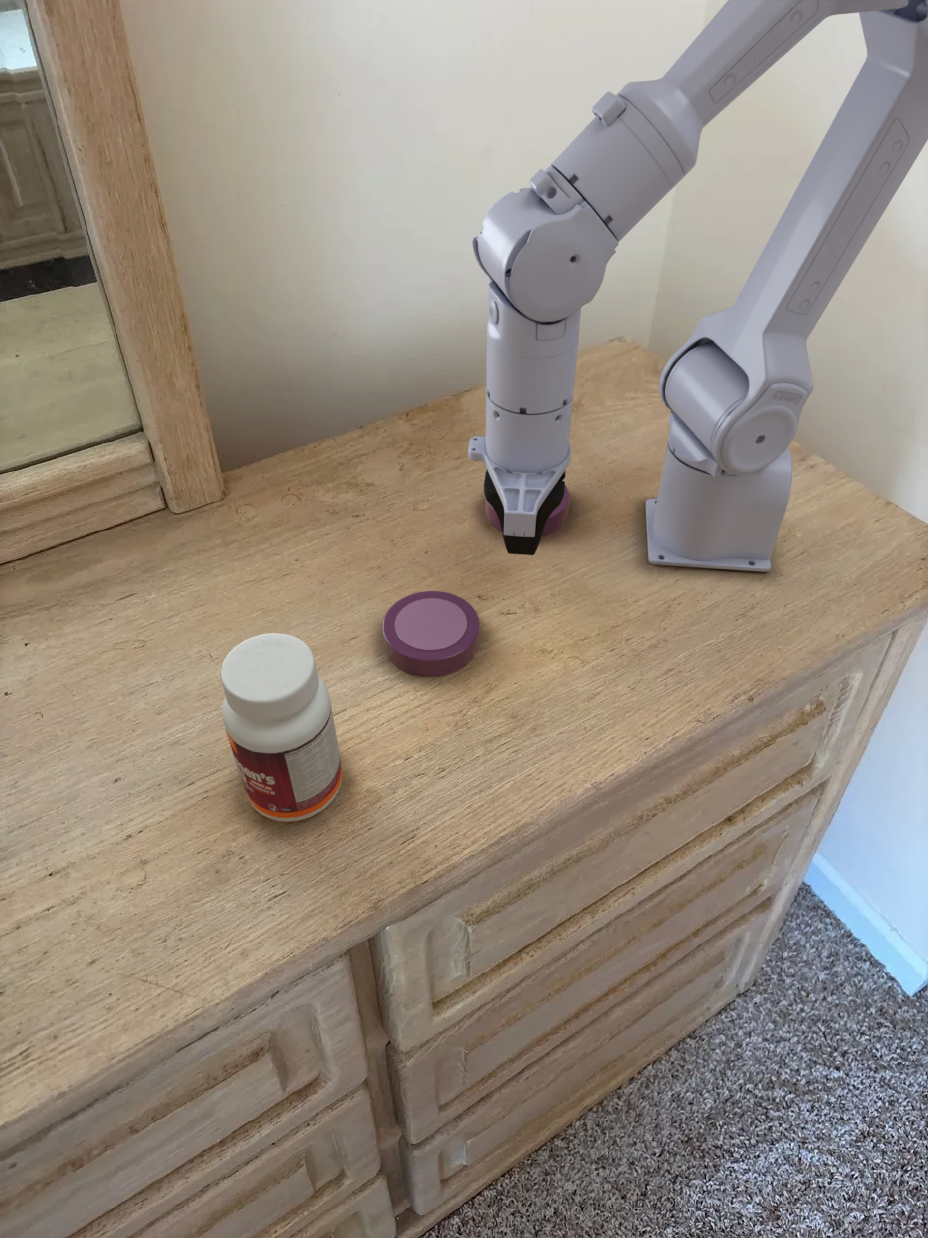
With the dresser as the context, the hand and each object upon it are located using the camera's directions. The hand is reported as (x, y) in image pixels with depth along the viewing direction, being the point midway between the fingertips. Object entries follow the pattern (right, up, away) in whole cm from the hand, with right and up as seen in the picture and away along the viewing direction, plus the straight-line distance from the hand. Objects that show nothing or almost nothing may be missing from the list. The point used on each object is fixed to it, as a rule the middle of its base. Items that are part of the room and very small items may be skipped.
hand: (521, 548), depth 69 cm
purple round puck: (+1, +4, +8) cm, 9 cm away
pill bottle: (-15, -16, -11) cm, 25 cm away
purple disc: (-7, -7, -3) cm, 10 cm away
